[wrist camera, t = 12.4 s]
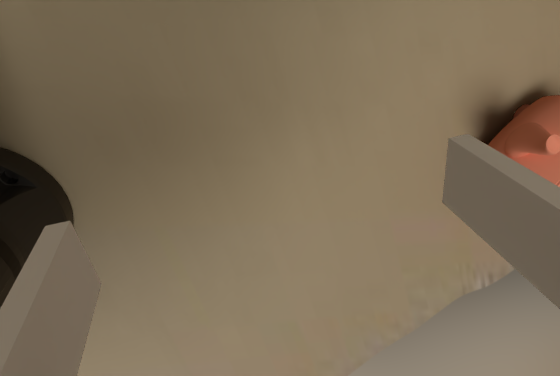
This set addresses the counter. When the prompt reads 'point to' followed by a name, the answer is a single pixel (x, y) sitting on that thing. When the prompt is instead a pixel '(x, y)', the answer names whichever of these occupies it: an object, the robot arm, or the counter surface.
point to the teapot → (534, 138)
